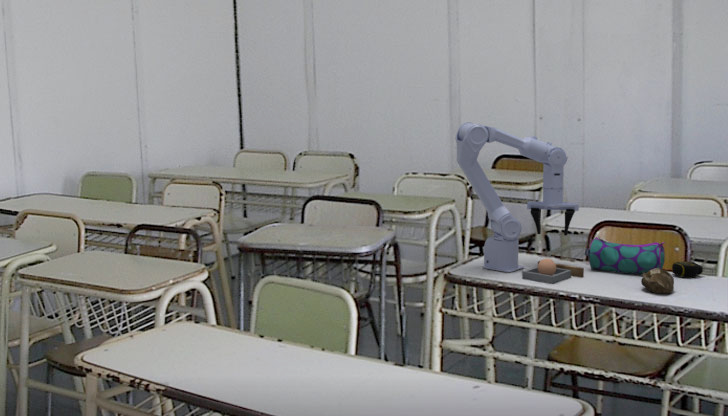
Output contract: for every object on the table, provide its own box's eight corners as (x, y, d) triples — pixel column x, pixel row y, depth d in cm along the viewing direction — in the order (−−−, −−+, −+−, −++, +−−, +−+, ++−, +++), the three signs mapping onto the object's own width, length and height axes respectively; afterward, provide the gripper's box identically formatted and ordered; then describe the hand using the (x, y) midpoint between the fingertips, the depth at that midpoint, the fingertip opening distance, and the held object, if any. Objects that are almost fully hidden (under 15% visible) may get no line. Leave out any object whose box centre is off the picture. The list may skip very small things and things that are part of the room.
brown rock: (636, 276, 221) (638, 291, 212) (651, 256, 219) (653, 271, 210) (661, 291, 221) (664, 307, 212) (676, 271, 218) (680, 287, 209)
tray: (522, 278, 231) (522, 271, 230) (541, 272, 237) (541, 265, 237) (552, 284, 224) (552, 276, 224) (571, 277, 231) (571, 270, 230)
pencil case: (584, 271, 238) (584, 238, 236) (592, 265, 245) (593, 233, 244) (660, 279, 227) (661, 245, 226) (666, 272, 235) (668, 239, 233)
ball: (534, 276, 231) (534, 259, 230) (544, 273, 234) (544, 256, 233) (549, 279, 227) (549, 261, 226) (559, 276, 231) (559, 258, 230)
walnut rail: (537, 270, 240) (537, 261, 240) (539, 269, 241) (540, 260, 241) (581, 277, 230) (581, 268, 230) (583, 276, 231) (583, 267, 231)
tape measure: (703, 277, 229) (704, 264, 229) (686, 280, 226) (687, 266, 225) (683, 272, 235) (684, 259, 235) (666, 275, 232) (667, 262, 231)
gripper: (525, 189, 240) (525, 235, 242) (577, 190, 235) (576, 238, 237) (529, 185, 246) (528, 231, 249) (579, 187, 242) (579, 233, 244)
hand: (552, 234), depth 243 cm, fingers open, 7 cm apart
